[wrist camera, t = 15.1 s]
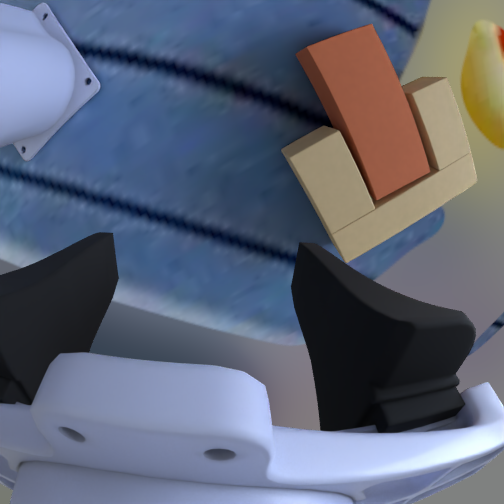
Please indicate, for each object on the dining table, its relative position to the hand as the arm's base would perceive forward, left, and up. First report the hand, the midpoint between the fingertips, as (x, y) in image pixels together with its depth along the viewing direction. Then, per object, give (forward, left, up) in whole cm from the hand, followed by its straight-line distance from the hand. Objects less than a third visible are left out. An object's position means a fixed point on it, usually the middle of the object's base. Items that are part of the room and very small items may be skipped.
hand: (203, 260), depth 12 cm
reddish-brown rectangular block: (0, +11, -9) cm, 14 cm away
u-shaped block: (+4, +11, -9) cm, 15 cm away
